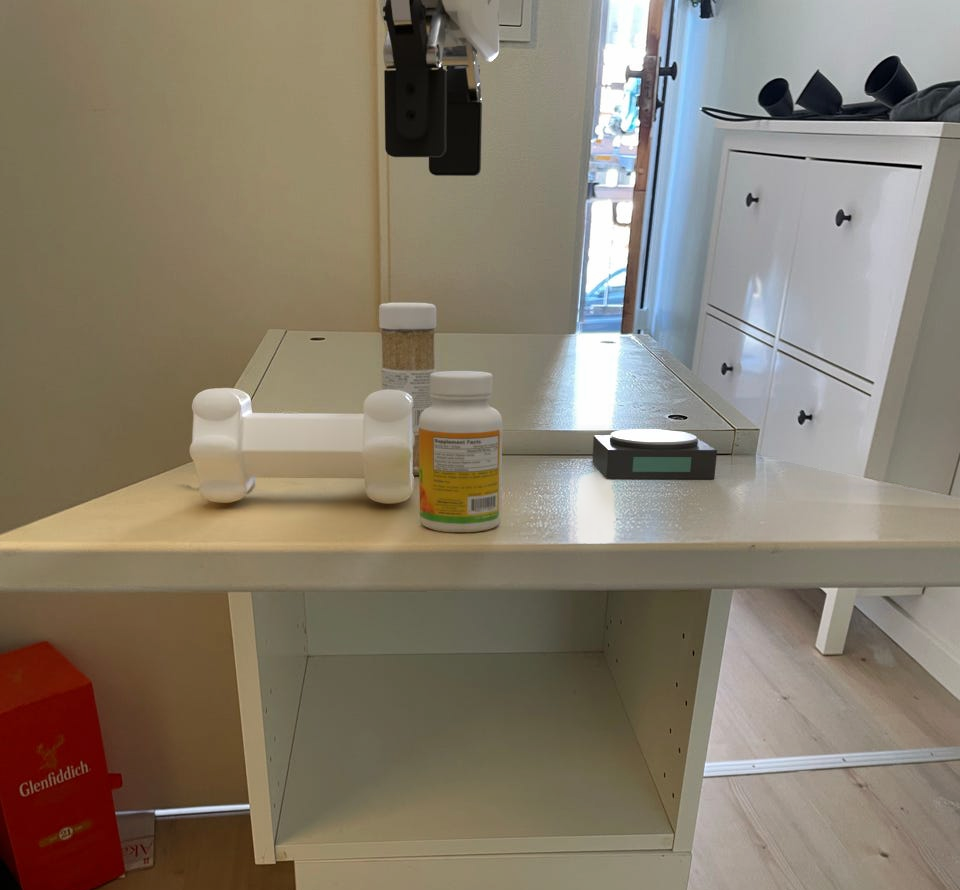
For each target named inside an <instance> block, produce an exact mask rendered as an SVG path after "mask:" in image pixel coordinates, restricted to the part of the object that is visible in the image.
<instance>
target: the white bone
mask: <svg viewBox="0 0 960 890" xmlns="http://www.w3.org/2000/svg"><path fill="white" fill-rule="evenodd" d="M412 408H413V399H412V397H411V396H410V395H409V394H407V393H406V392H403V391H400V390H394V389H386V390H382V389H380V390H377V391H373V392H372V393H370V394H369V395H368V396H367V397H366V398H365V399H364V401H363V404H362V410H363V413H311V412H309V413H307V412H306V413H305V412H303V413H300V412H299V413H298V412H293V413H292V412H286V413H285V412H283V413H282V412H253V410H252V409H253V408H252V399H251V397H250V395H249V394H248V393H246V392H245V391H244V390H241V389H238V388H232V387H220V388H217V387H215V388H207V389H204V390H202V391H200V392H198V393H197V394H196V395H195V396H194V398H193V400H192V403H191V410H192V414H193V415H192V433H191V435H192V436H191V444H190V445H189V451H188V452H189V455H190V458H191V459H192V461H193V464H194V467H195V472H196V476H197V479H198V484H199V486H198V493H199V494H200V496H201V497H202V498H204V499H205V500H207V501H210V502H213V503H218V504H227V503H228V504H229V503H235V502H238V501H240V500H242V499H243V498H245V497H246V496H247V495H248V494H250V493H252V492H253V490H254V489H255V487H256V484H257V478H259V479H262V478H266V479H272V478H273V479H279V478H280V479H287V478H288V479H364V481H365V490H364V491H365V494H366V496H367V498H369V499H370V500H371V501H374V502H376V503H379V504H390V505H391V504H399V503H403V502H406V501H407V500H408V499H410V498H411V497H412V496H413V492H414V486H415V475H413V445H414V442H415V438H414V434H413V432H412Z"/></svg>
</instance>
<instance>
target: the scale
mask: <svg viewBox="0 0 960 890" xmlns="http://www.w3.org/2000/svg"><path fill="white" fill-rule="evenodd" d="M592 443H593V444H592V461H591V462H592V464H593V463H594V464H593V465H594V466H595V467H596V468H597V469H598V470H599V472H600V473H601V475H603V476H604V477H605V478H606V480H715V479H716V478H715V477H716V468H717V458H718V457H717V456H718V455H717V454H718V450H717V449H716V448H714V447H712V446H711V445H710V444H708V443H706V442H705V441H703V440H701V439H699V438H698V437H697V436H696V435H695V434H692V433H688V432H684V431H679V430H678V431H677V430H671V429H652V428H649V429H648V428H633V429H621V430H616V431H613V432H611V433H610V435H593V442H592Z"/></svg>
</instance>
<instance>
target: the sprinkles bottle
mask: <svg viewBox="0 0 960 890" xmlns="http://www.w3.org/2000/svg"><path fill="white" fill-rule="evenodd" d="M378 327H379V328H380V329H381V330H380V334H381V360H382V361H381V390H386V389H394V390H400V391H403V392H406V393H407V394H409V395H410V396H411V397H412V399H413V408H412V432H413V434H414V438H415V442H414V445H413V476H419V417H420V415H421V413H422V412H423V411H424V410H425V409H426V408H428V407H431V406H432V405H433V397H431V396H430V374H431V373H434V372H437V369H436V364H435V363H436V362H435V361H436V360H435V357H436V356H435V334H436V331H435V330H436V328H437V307H436V305H435V304H433V303H427V302H387V303H381V304H379V306H378Z"/></svg>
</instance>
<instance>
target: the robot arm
mask: <svg viewBox="0 0 960 890" xmlns="http://www.w3.org/2000/svg"><path fill="white" fill-rule="evenodd" d="M378 3H379V12H380V16H381V21H382V22H383V25H384V27H385V28H386V30H387V31H386V35H385V39H384V43H383V51H382V52H383V53H382V54H383V55H382V56H383V62H384V66H385V68H386V69H385V70H384V71H383V77H384V78H383V79H384V82H383V83H384V149H385V152H386V154H387V155H388V156H390V157H392V158H428V172H429V173H430V174H431V175H433V176H436V177H459V176H460V177H475V176H478V175H479V174H480V172H481V170H482V126H483V125H482V124H483V123H482V120H483V119H482V118H483V103H482V84H481V75H480V74H481V69H480V64H479V57H478V54H479V55H480V57H482V59H483V60H485V61H486V62H492V61H493V60H494V59H496V57H497V56H498V55H499V51H500V0H379V1H378ZM444 67H445V69H444Z"/></svg>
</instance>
